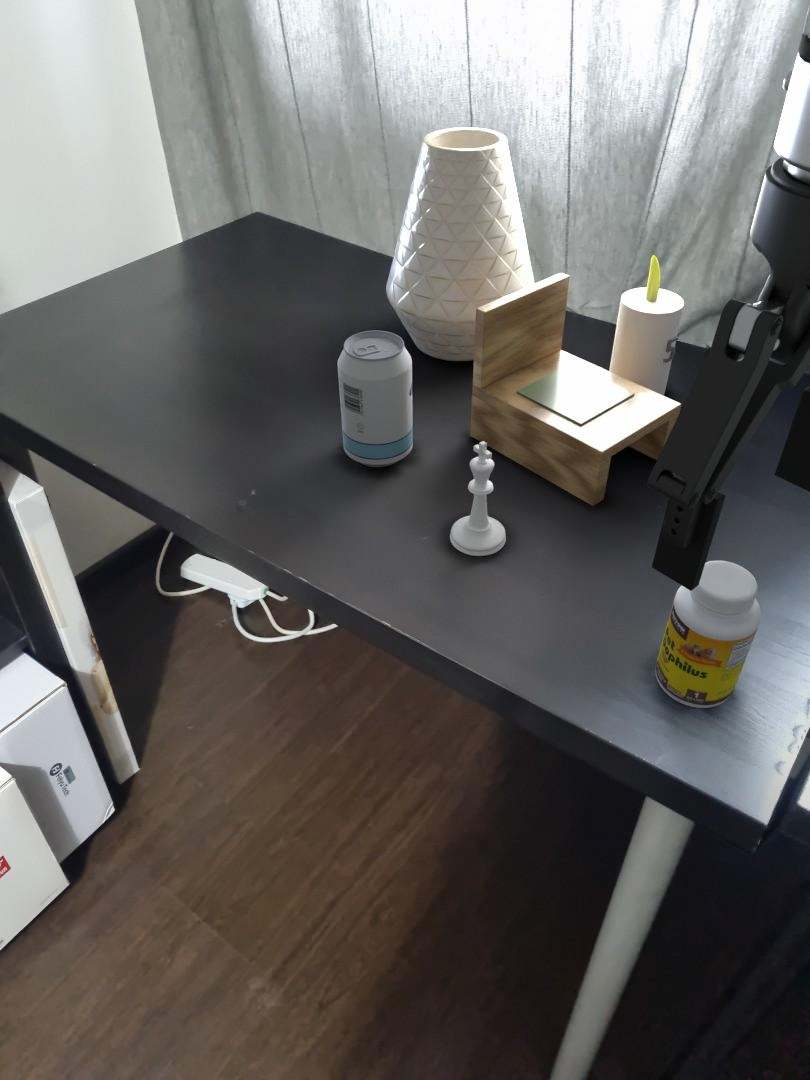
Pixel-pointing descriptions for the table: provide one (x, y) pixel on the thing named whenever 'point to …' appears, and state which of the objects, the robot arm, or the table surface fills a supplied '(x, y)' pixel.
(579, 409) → the shelf
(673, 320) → the candle
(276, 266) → the table surface
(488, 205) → the vase
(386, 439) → the beverage can
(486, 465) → the chess piece
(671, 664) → the supplement bottle
